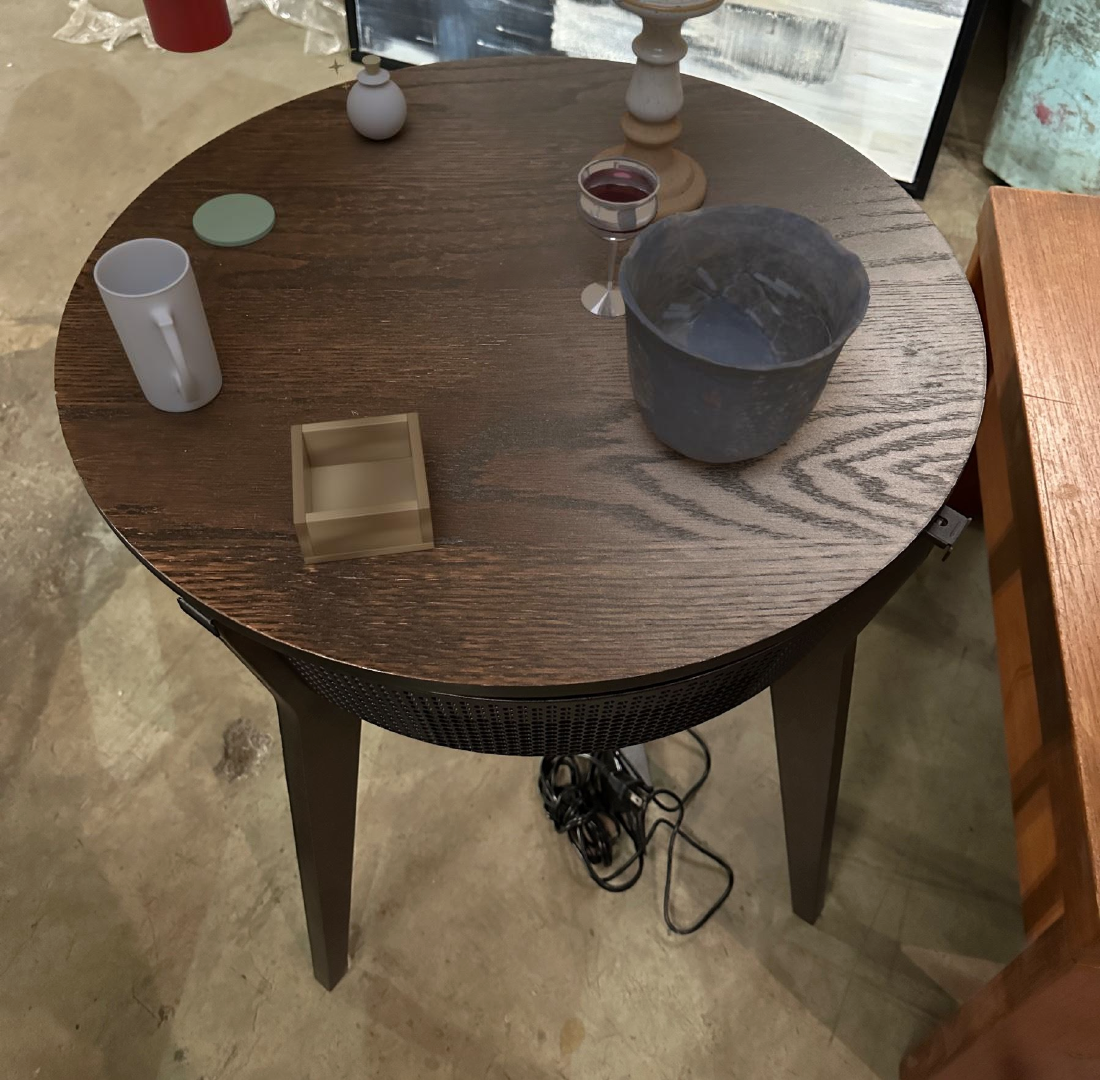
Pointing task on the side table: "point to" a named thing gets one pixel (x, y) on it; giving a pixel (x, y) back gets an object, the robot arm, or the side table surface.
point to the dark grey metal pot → (736, 325)
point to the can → (189, 24)
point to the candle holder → (661, 102)
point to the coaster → (234, 220)
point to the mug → (160, 322)
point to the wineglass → (615, 217)
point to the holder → (360, 488)
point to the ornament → (375, 101)
